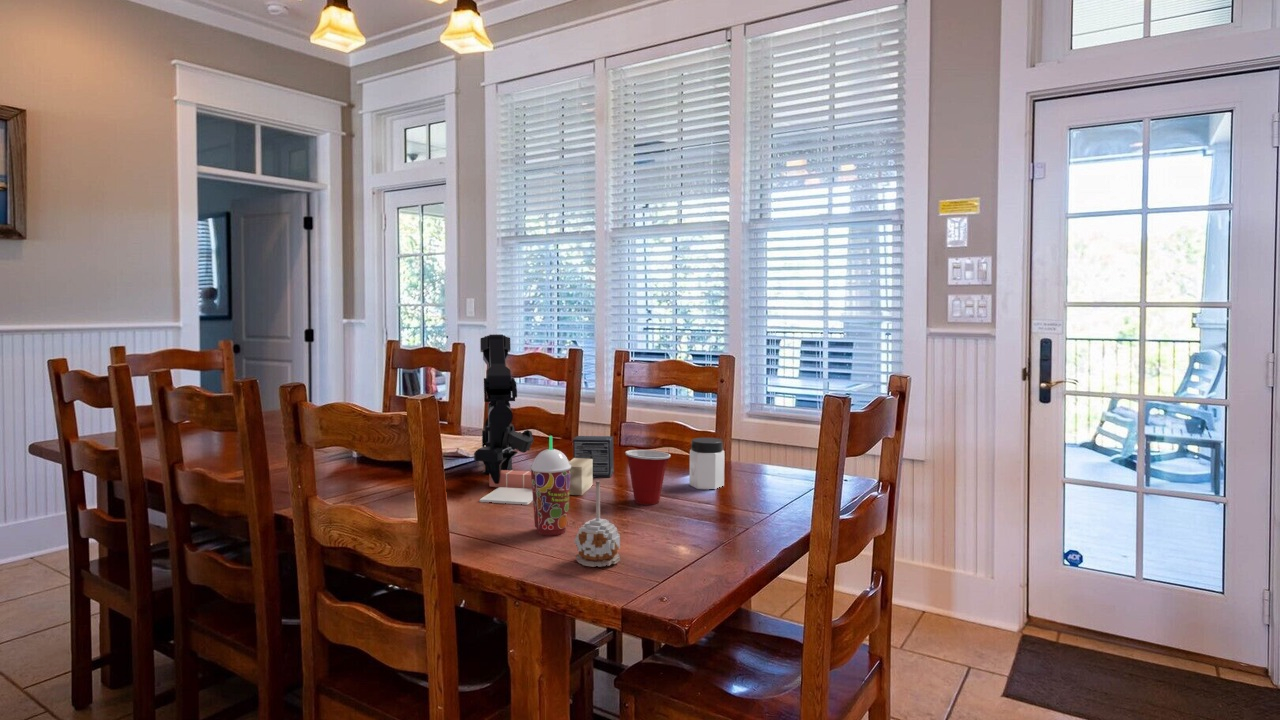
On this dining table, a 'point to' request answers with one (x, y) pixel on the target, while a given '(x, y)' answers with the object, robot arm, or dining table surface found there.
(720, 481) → the jar
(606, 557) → the caramel apple
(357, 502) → the dining table surface
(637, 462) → the plastic cup
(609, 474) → the small box
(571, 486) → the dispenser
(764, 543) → the dining table surface
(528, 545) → the dining table surface
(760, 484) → the dining table surface
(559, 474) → the smoothie
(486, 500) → the tile
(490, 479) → the pink striped block
